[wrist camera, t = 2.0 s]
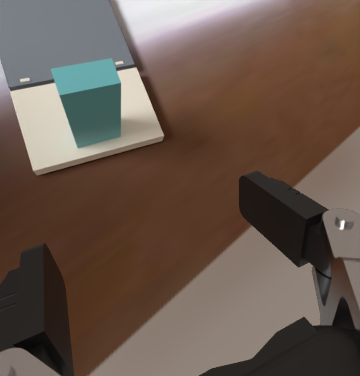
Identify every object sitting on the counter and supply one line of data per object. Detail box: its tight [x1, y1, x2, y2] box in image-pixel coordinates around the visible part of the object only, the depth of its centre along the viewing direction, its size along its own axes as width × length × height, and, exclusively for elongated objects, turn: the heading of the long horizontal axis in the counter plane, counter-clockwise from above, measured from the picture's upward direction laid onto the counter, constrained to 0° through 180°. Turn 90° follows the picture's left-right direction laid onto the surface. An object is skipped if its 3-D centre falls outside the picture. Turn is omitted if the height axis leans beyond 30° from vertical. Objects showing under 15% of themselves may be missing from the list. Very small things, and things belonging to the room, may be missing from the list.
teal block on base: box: [10, 58, 164, 175], centre depth 23 cm, size 12×8×9 cm, turn 112°
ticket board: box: [0, 0, 135, 91], centre depth 29 cm, size 12×14×1 cm
